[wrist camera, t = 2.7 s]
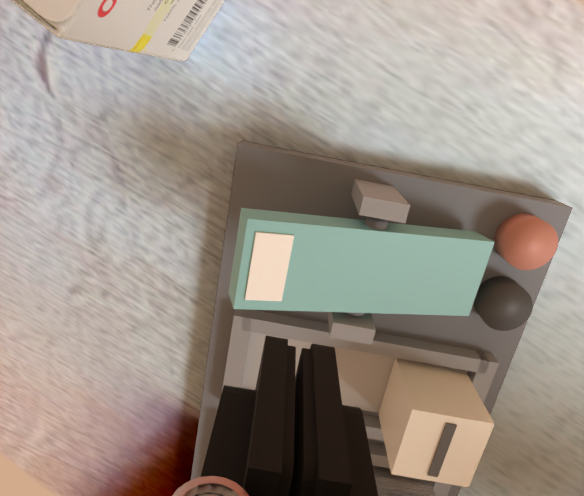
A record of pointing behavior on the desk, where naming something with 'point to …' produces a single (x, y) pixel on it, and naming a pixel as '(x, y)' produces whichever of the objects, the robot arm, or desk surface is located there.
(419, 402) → the ivory knob
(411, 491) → the beige block
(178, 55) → the ink box
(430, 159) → the desk surface
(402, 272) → the teal rocker
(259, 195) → the panel
